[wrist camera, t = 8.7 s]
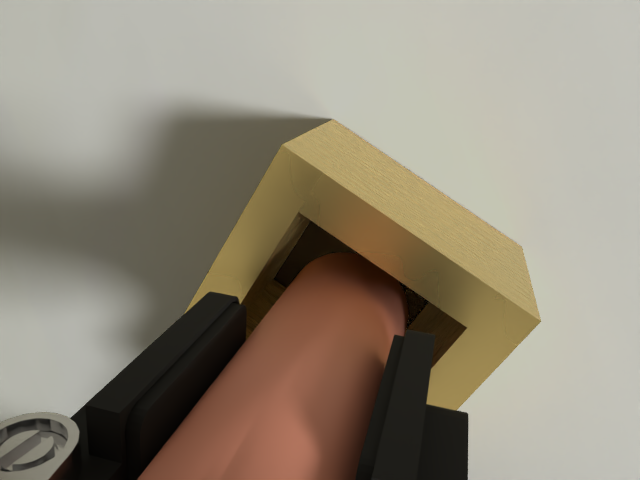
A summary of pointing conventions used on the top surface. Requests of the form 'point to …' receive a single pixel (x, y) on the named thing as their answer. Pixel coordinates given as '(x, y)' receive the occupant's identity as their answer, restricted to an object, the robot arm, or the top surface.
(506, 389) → the top surface
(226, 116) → the top surface
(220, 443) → the pin
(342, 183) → the yellow and grey fixture
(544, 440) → the top surface
